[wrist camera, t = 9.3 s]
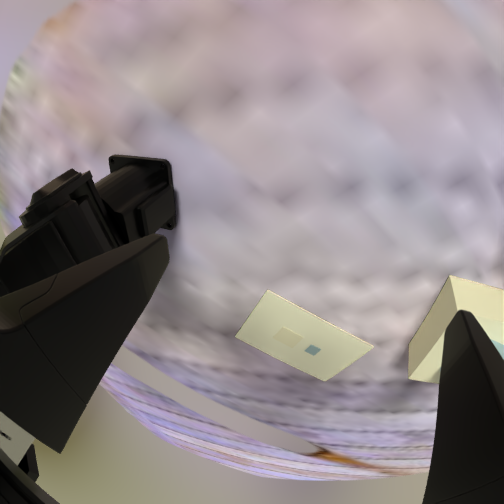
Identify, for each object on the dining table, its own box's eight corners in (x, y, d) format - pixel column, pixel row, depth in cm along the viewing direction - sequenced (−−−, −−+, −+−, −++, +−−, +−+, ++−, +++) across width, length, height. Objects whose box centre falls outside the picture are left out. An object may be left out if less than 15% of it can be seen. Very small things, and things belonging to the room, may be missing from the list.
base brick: (408, 344, 26) (408, 378, 23) (449, 275, 20) (457, 311, 17) (478, 357, 24) (482, 389, 21) (525, 296, 18) (537, 329, 15)
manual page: (235, 335, 33) (234, 337, 33) (267, 289, 27) (266, 291, 27) (325, 380, 33) (324, 382, 33) (373, 345, 27) (373, 348, 27)
